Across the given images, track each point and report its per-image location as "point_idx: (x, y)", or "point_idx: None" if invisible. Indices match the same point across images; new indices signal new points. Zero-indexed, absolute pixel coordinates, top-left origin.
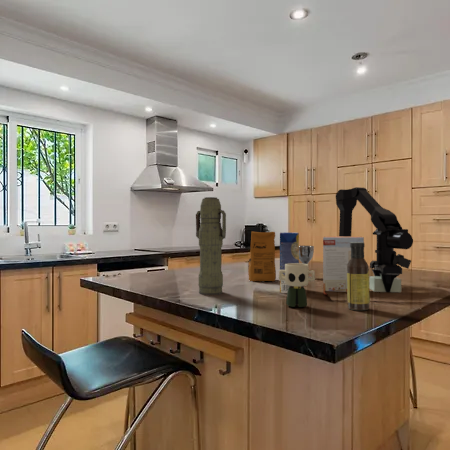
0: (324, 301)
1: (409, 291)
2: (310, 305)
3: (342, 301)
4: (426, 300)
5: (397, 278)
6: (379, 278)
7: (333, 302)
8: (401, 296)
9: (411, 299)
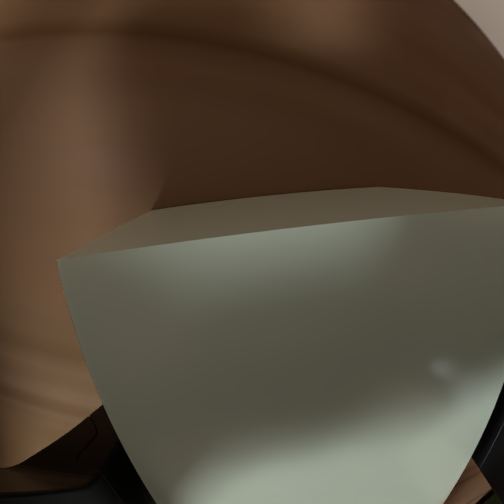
0: (452, 500)
1: (34, 46)
2: (482, 494)
3: (467, 471)
4: (470, 51)
5: (474, 258)
6: (430, 493)
7: (471, 480)
8: (374, 184)
9: (472, 143)
